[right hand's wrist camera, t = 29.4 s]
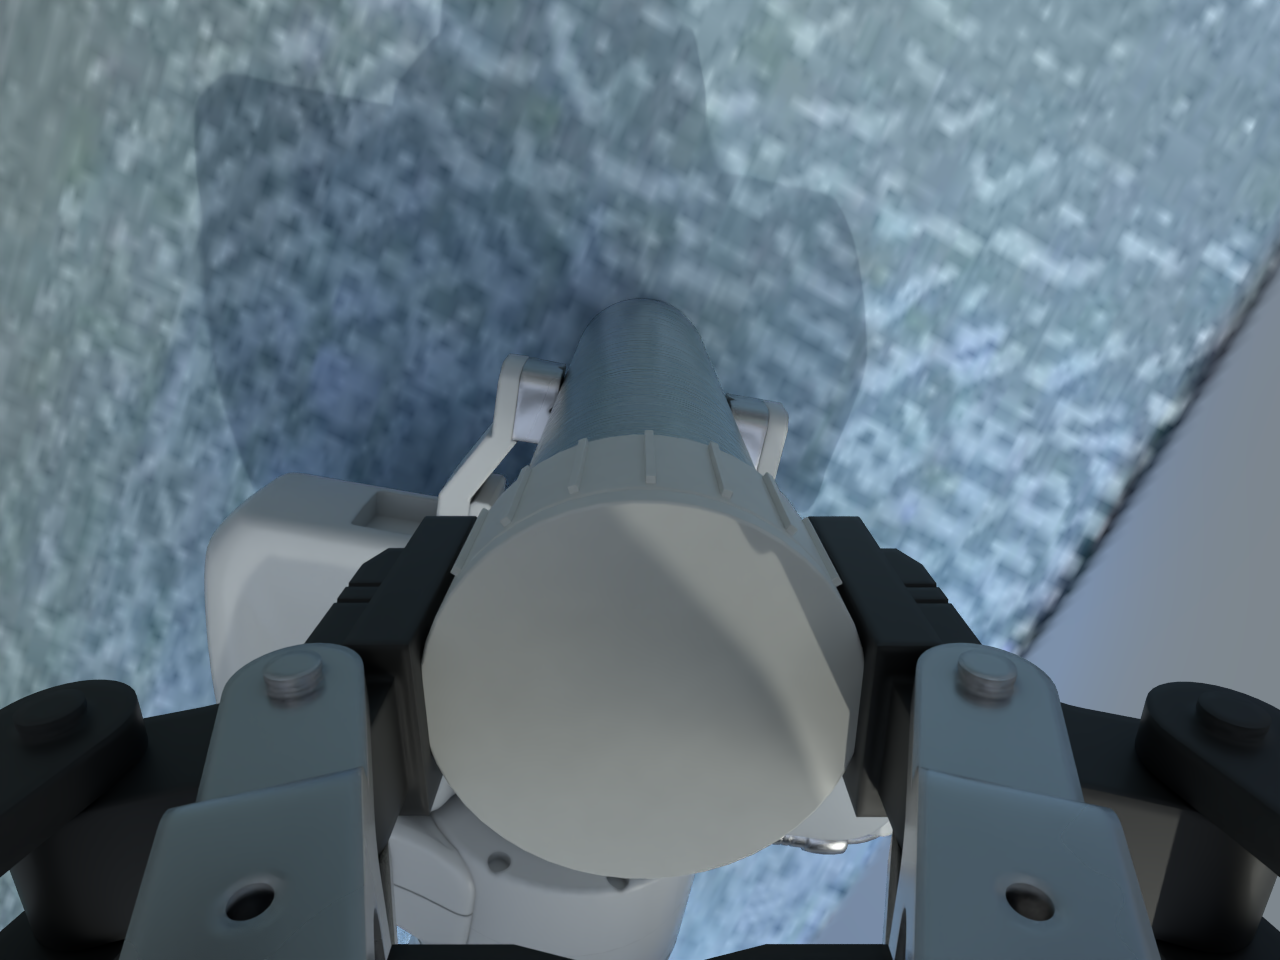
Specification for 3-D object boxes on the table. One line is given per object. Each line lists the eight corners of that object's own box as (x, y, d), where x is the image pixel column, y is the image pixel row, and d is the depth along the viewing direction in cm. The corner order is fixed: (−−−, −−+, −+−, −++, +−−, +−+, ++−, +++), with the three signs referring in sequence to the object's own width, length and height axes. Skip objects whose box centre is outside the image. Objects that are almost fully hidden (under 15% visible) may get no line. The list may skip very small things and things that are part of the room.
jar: (550, 344, 25) (394, 610, 9) (661, 272, 25) (704, 424, 8) (621, 449, 27) (593, 846, 10) (729, 383, 26) (879, 704, 10)
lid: (389, 643, 11) (328, 756, 9) (591, 348, 10) (577, 393, 7) (681, 806, 12) (691, 945, 10) (902, 562, 10) (971, 659, 8)
